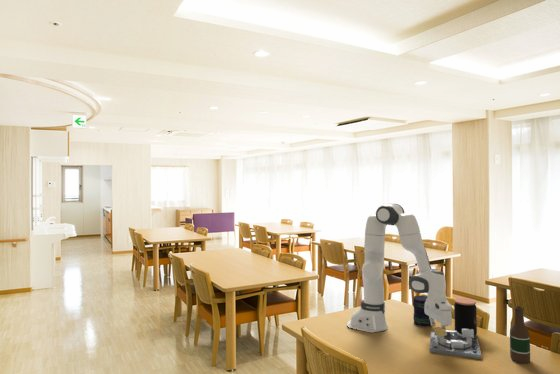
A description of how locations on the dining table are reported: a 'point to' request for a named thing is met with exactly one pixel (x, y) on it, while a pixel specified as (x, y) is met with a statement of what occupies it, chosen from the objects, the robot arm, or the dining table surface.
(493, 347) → the dining table surface
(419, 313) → the storage jar
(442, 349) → the flange plate
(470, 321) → the coffee jar
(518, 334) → the beer bottle
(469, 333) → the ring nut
